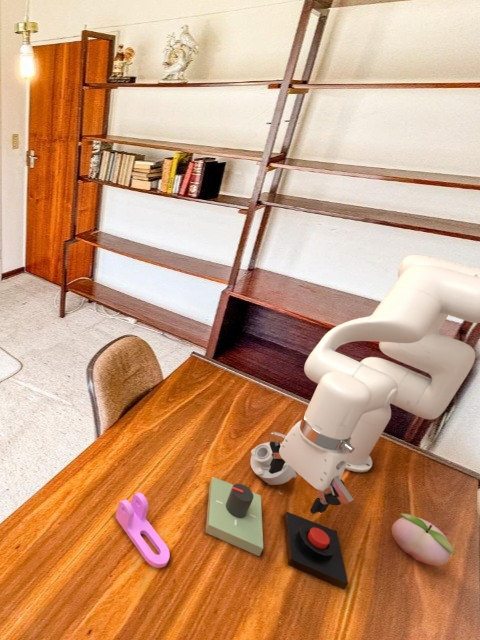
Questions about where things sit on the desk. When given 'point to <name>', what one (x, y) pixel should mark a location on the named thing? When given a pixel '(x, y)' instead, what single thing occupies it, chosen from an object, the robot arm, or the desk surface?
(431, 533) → the decorative fruit
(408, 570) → the desk surface
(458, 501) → the desk surface
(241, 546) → the dial panel
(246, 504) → the dial knob
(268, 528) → the desk surface
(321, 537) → the red button
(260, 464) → the valve
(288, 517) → the button block
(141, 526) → the bracket
